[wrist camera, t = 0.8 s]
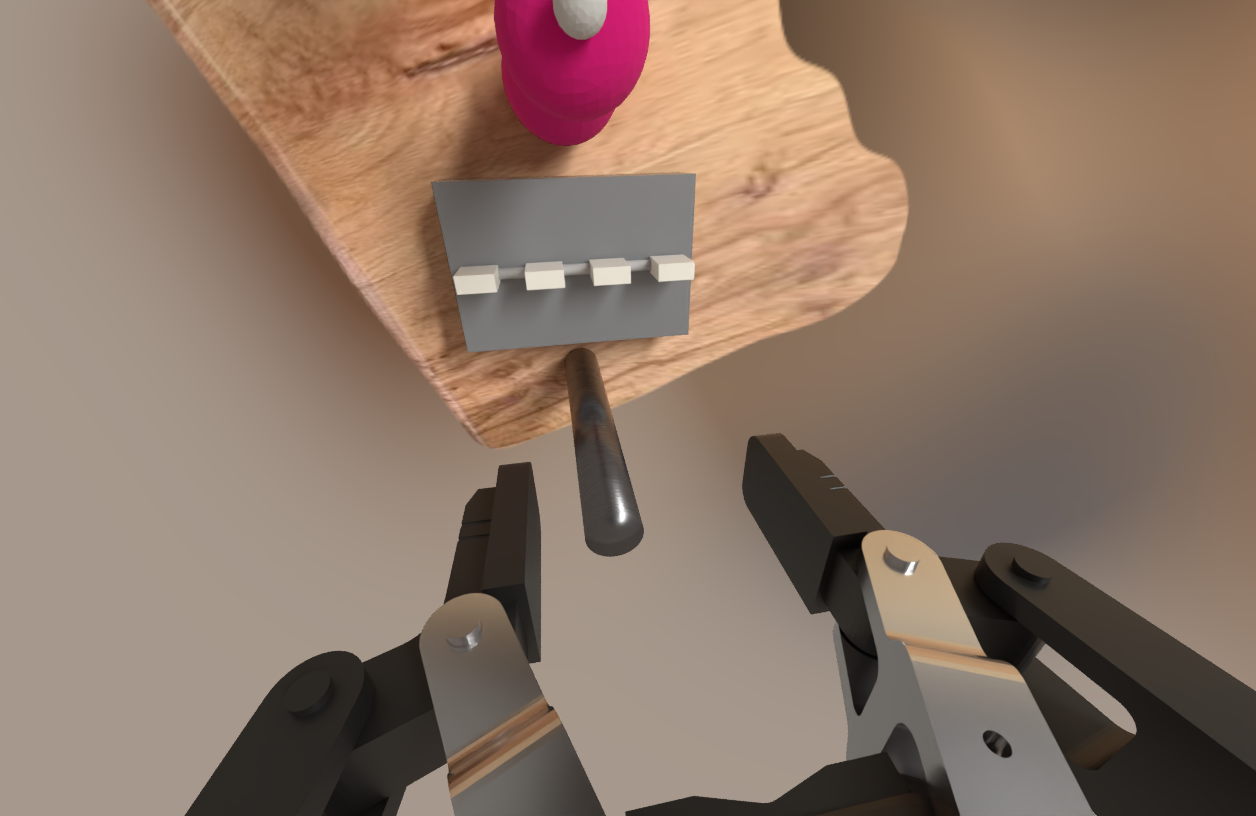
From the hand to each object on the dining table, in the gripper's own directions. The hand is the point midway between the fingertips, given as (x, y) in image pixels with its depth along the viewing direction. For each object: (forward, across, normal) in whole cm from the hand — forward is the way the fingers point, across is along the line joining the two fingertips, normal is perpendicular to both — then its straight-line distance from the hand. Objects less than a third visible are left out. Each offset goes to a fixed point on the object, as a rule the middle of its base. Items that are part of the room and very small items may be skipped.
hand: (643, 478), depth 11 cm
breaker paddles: (+25, 0, 0) cm, 25 cm away
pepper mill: (+30, 0, -12) cm, 32 cm away
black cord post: (+29, 0, +10) cm, 31 cm away
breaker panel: (+29, 0, 0) cm, 29 cm away
